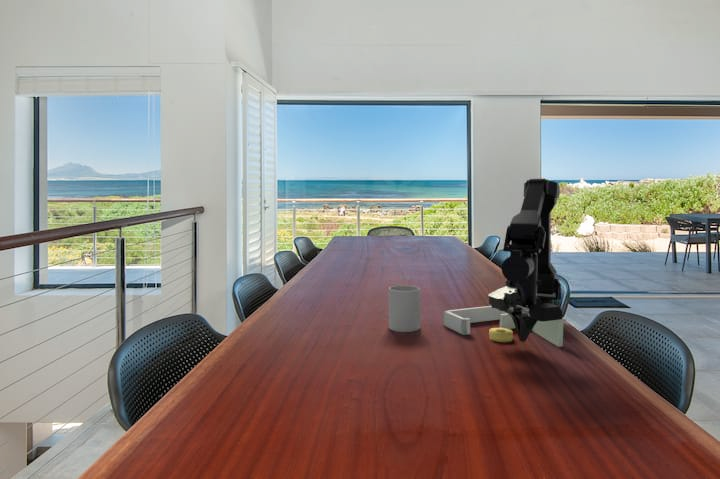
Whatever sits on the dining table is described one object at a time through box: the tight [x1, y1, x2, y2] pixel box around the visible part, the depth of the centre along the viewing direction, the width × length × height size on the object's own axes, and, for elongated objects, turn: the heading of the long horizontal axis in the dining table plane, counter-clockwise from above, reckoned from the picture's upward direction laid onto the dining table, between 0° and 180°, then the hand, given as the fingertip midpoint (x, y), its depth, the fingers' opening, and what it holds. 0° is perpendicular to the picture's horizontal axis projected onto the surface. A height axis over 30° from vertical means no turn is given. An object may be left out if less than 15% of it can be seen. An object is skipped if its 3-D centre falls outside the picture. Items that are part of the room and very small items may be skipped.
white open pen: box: [442, 305, 516, 336], centre depth 126 cm, size 20×12×6 cm, turn 110°
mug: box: [388, 284, 421, 333], centre depth 127 cm, size 12×8×11 cm
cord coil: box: [488, 327, 514, 343], centre depth 115 cm, size 6×6×2 cm
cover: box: [531, 316, 567, 348], centre depth 116 cm, size 15×2×7 cm, turn 6°
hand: (522, 341), depth 108 cm, fingers closed
